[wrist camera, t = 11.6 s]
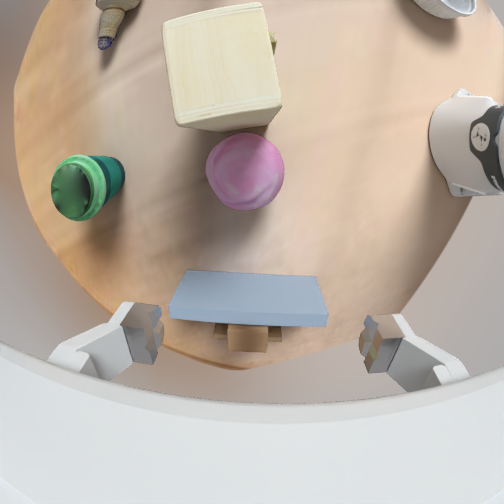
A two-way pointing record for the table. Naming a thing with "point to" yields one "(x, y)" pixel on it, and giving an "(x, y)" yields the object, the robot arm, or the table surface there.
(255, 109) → the toy refrigerator
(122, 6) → the decorative bottle
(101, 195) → the cup
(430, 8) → the ramekin
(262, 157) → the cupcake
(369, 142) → the table surface
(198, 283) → the wall board
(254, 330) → the tan wooden cube
